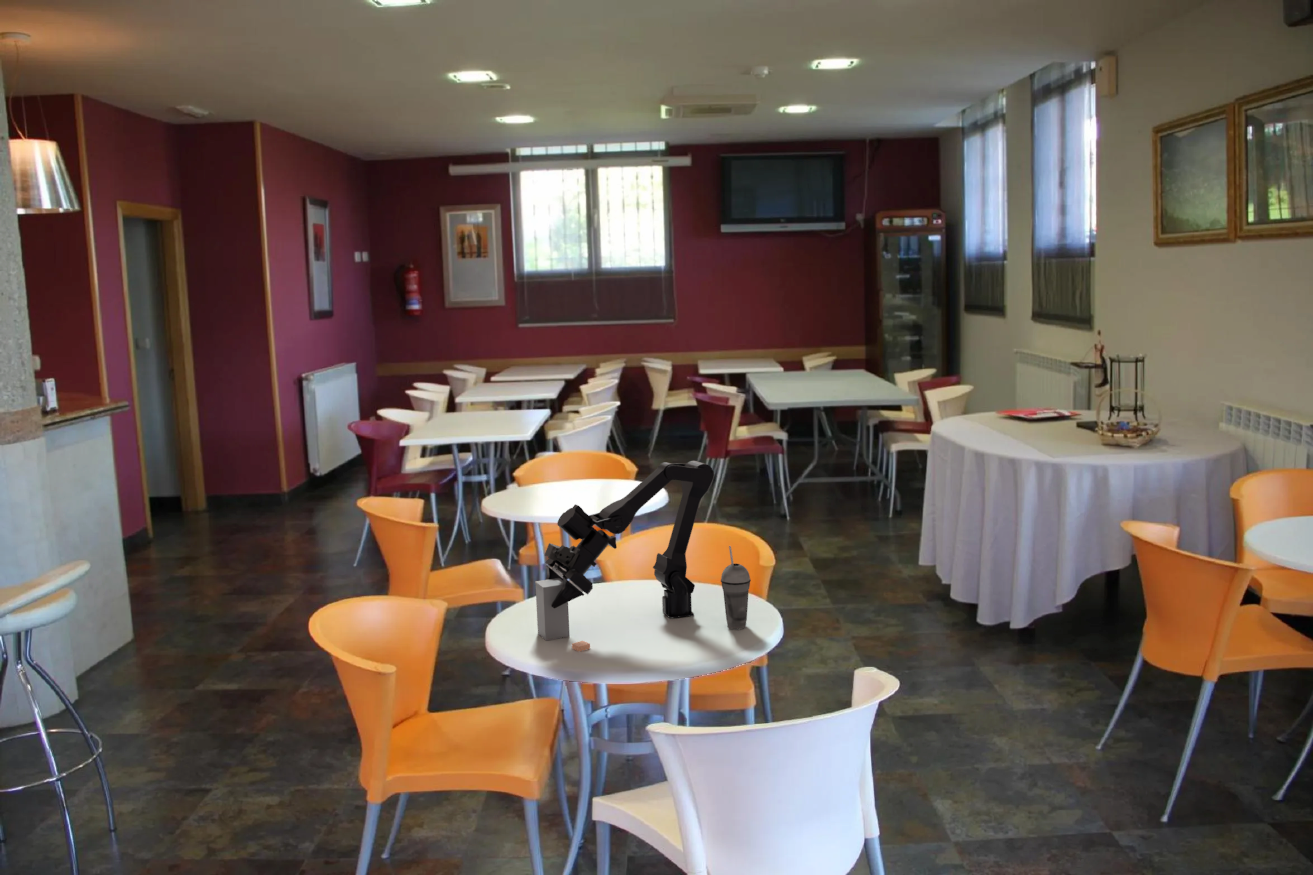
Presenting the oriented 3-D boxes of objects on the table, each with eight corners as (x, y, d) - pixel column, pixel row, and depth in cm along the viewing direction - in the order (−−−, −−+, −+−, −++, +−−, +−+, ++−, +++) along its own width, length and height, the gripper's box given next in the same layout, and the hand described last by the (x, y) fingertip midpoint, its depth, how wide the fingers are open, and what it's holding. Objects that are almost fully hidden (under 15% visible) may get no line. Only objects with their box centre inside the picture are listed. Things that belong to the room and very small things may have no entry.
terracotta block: (583, 646, 253) (582, 640, 252) (590, 649, 250) (589, 643, 250) (572, 649, 251) (571, 643, 251) (579, 652, 248) (579, 646, 248)
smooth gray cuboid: (561, 629, 265) (558, 577, 263) (569, 636, 259) (567, 583, 257) (537, 633, 262) (535, 581, 260) (545, 640, 257) (543, 587, 255)
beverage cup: (749, 631, 258) (748, 550, 256) (719, 630, 260) (717, 549, 257) (753, 622, 266) (751, 542, 263) (723, 621, 267) (722, 542, 264)
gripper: (551, 523, 267) (510, 573, 264) (577, 539, 250) (534, 592, 247) (583, 550, 271) (543, 599, 269) (610, 567, 255) (568, 620, 252)
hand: (546, 602), depth 259 cm, fingers open, 9 cm apart
